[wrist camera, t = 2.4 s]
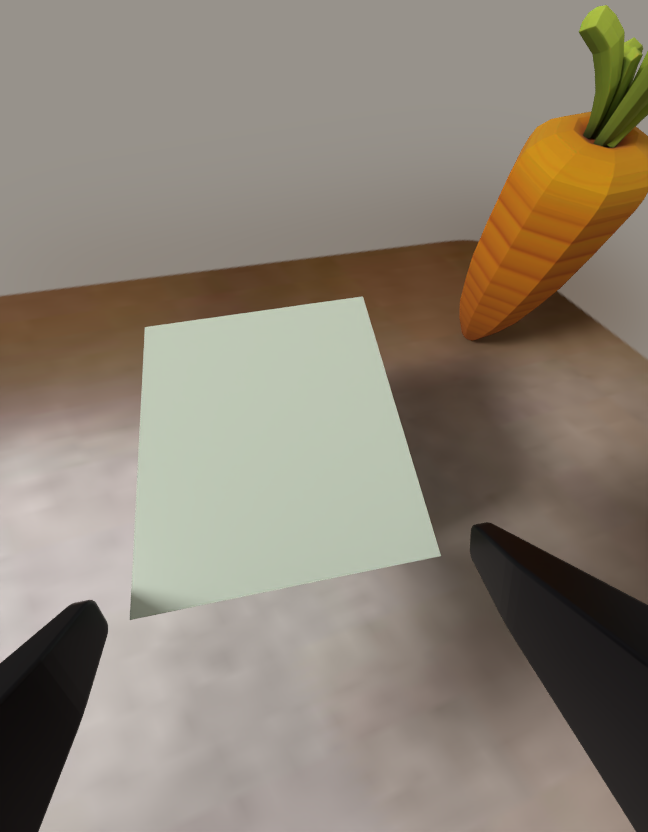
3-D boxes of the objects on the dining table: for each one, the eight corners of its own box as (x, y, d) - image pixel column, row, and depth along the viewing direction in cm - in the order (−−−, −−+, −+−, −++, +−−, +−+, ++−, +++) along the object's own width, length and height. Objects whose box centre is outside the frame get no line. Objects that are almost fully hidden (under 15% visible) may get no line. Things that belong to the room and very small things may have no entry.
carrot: (472, 383, 20) (803, 3, 6) (415, 333, 21) (579, -60, 8) (521, 342, 21) (888, -50, 7) (464, 297, 23) (680, -95, 9)
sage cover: (380, 554, 16) (440, 555, 8) (233, 584, 15) (129, 619, 7) (346, 406, 19) (362, 296, 11) (223, 426, 19) (145, 327, 10)
